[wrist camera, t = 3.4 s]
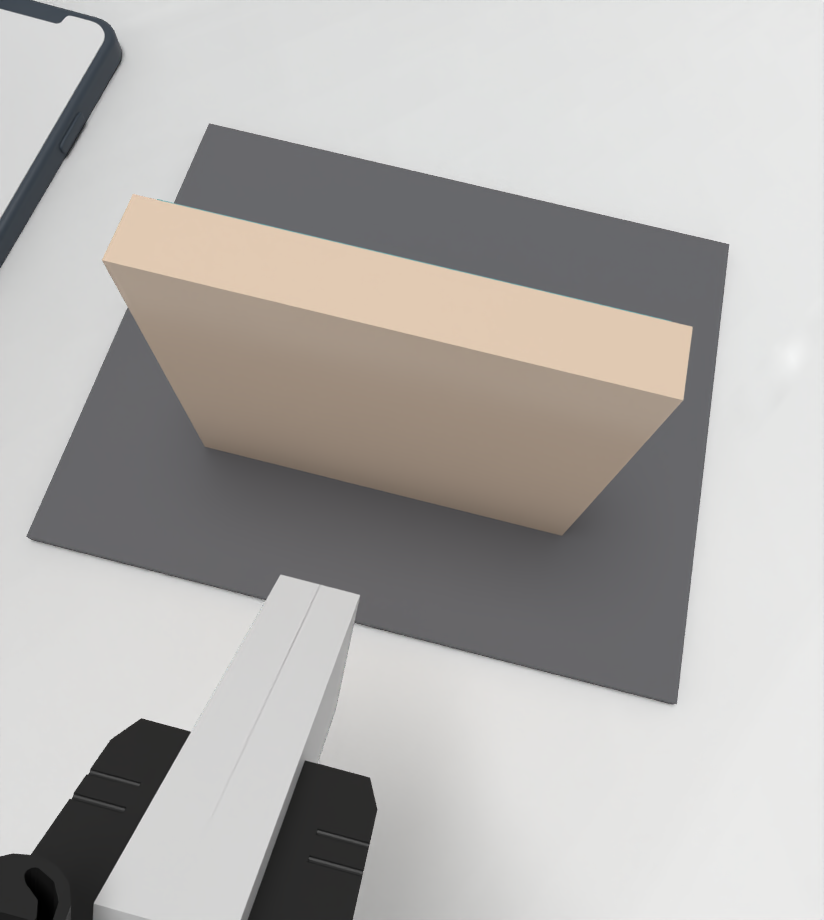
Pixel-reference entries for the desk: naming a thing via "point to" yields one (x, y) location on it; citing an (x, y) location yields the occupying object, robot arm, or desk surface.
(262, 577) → the mat
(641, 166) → the desk surface
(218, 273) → the tile
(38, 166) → the smartphone
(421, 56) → the desk surface
